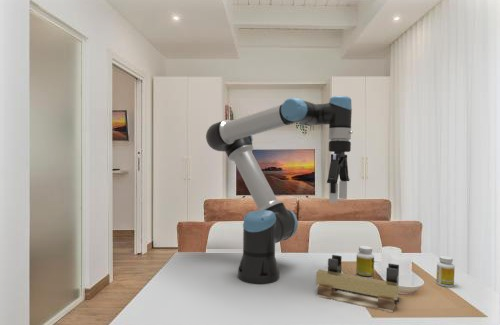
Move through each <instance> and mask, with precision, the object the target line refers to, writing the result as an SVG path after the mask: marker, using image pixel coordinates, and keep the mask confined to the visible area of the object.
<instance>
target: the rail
mask: <svg viewBox="0 0 500 325" xmlns="http://www.w3.org/2000/svg"><path fill="white" fill-rule="evenodd" d="M315 277H316V279H315V280H316V281H315V282H316V283H315V284H316V285H318V286H319V285H322V286H327V287H332V288H337V289H342V290H347V291H352V292H358V293H363V294H368V295H373V296H378V297H383V298H388V299H393V300H397V299H398V297H399V285H398V283H394V282H388V281H386V280H381V279H378V278H377V279H376V278H373V279H371V278H366V277H360V276H356V275H354V274H353V275H352V274H347V273H342V272H341V273H337V272H331V271H328V270H324V269H319V268H318V270H317V271H316V276H315Z"/></svg>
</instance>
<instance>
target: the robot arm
mask: <svg viewBox="0 0 500 325" xmlns="http://www.w3.org/2000/svg"><path fill="white" fill-rule="evenodd" d="M352 110H353V109H352V99H351V97H350V96H347V95H335V96H331V97H330V98H329V102H328V103H316V104H315V103H313V102H310V101H306V100H303V99H301V98H297V97H289V98H287V99H286V100H284V101H283V102H282V103H281V104H279V105H276V106H273V107H269V108H267V109H264V110H261V111H257V112H254V113H251V114H248V115H245V116H242V117H238V118H236V119H233V120H231V121H230V120H225V119H224V120H221V121H218V122H216V123H213V124H211V125H210V126H209V128H207V131H206V135H205V139H206V143H207V144H208V146H209V147H210V148H211V149H212V150H213V151H217V152H224V153H225V154H226V156H227V159H228V160H229V161H232V162H233V163H234V164H235V166H236V168H237V170H238V172H239V174H240V176H241V178H242V180H243V181H244V183H245V187H246V188H247V189H248V191H249V193H250V195H251V198H252V199H253V201H254V203H255V205H256V207H257V209H258V210H252V211H249V212H248V213H246V214H245V215H244V217H243V224H242V228H243V233H242V234H243V239H242V242H243V243H242V244H243V246H242V256H241V257H242V258H241V260H240V263H239V266H238V268H237V269H238V270H237V278H239V280H240V281H243V282H246V283H250V284H258V285H259V284H260V285H261V284H269V283H274V282H276V281H278V280H279V279H280V269H279V266H278V262H277V259H276V244H278V243H280V242H282V241H287V240H289V239H290V238H292V237H294V235H295V234H296V233H297V230H298V225H299V224H298V223H299V222H298V218H297V216H296V214H295V213H294V212H293V211H292V210H289V209H287V207H286V205H285V204H284V202H283V201H281V200H278V199H277V197H276V195H275V193H274V191H273V189H272V187H271V185H270V184H269V182H268V180H267V178H266V176H265V174H264V172H263V170H262V169H261V167H260V165H259V163H258V160H256V157H255V155H254V154H253V149H254V146H253V140H254V139H253V135H257V134H261V133H264V132H268V131H271V130H275V129H278V128H282V127H285V126H286V127H287V126H289V125H293V124H296V123H299V125H301V126H316V125H317V126H318V125H320V126H321V125H329V126H328V140H329V142H328V151H329V152H331V154H330V163H329V168H328V177H327V180H326V184H329V192H328V193H329V194H328V195H329V196H328V198H329V199H328V202H329V203H330V204H338V203H339V199H342V200H347V199H348V182H350V180H351V179H350V178H349V169H348V168H349V167H348V154H345V153H350V152H351V150H352V149H351V148H352V147H351V146H352V142H351V141H350V140H351V139H352V135H353V131H352V113H353V112H352ZM338 180H339V182H338Z"/></svg>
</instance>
